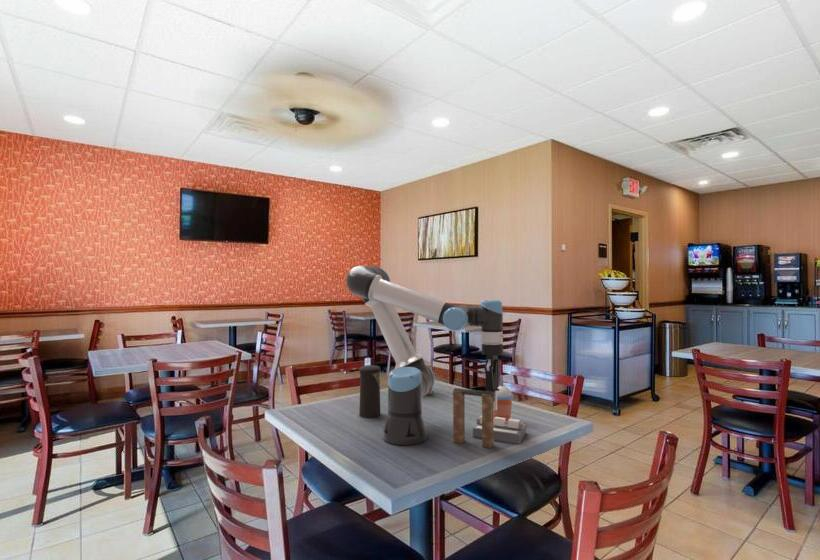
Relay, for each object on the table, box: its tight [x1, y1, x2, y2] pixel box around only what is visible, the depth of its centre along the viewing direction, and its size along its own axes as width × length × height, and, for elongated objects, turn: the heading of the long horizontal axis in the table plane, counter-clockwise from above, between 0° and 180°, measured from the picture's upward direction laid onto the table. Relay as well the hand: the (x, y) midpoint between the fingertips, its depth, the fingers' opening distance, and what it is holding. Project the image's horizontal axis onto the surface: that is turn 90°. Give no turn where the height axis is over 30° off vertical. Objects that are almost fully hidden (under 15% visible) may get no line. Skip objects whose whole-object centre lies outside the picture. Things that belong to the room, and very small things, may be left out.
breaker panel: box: [472, 416, 527, 445], centre depth 153 cm, size 16×12×5 cm
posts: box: [452, 390, 495, 449], centre depth 144 cm, size 13×4×17 cm, turn 64°
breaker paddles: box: [479, 414, 521, 429], centre depth 153 cm, size 14×2×2 cm, turn 64°
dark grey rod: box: [452, 387, 493, 397], centre depth 145 cm, size 14×2×2 cm, turn 64°
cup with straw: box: [493, 374, 514, 422], centre depth 167 cm, size 9×9×18 cm
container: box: [358, 364, 381, 418], centre depth 177 cm, size 9×9×20 cm
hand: (493, 409), depth 154 cm, fingers closed
